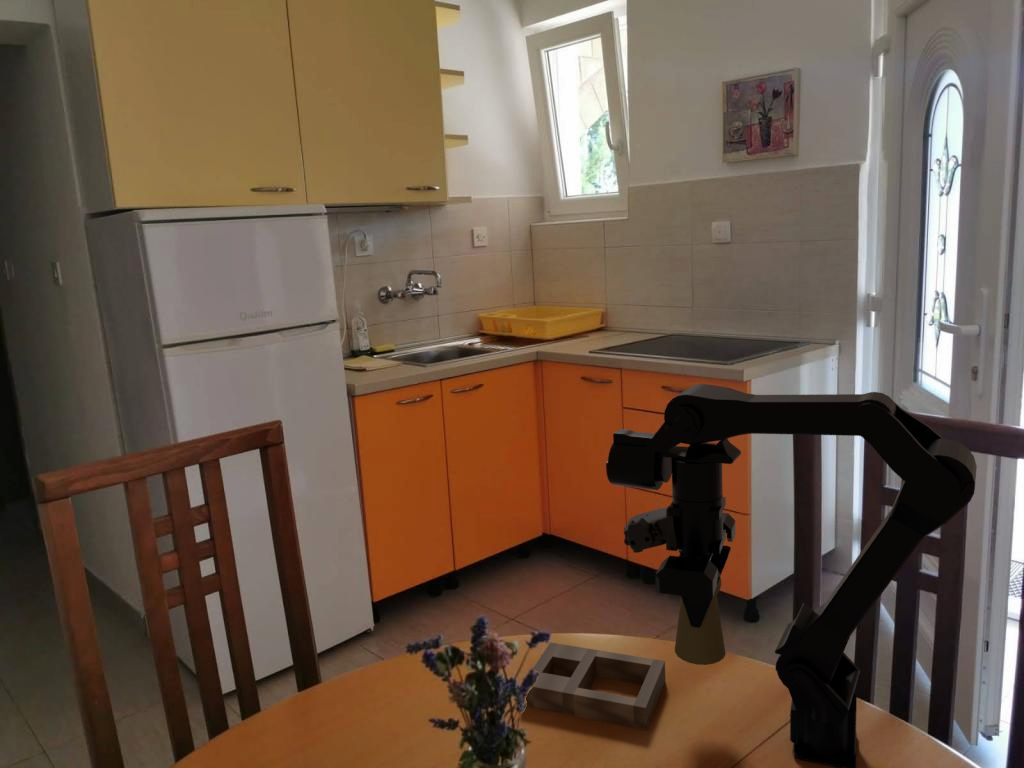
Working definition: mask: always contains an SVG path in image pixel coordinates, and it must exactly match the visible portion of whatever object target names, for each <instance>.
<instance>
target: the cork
mask: <svg viewBox="0 0 1024 768" xmlns="http://www.w3.org/2000/svg"><path fill="white" fill-rule="evenodd" d="M718 577H720V581H719V584H718V587H717V590H716V592H715V594H714V596H713V599H712V601H711V603H710V606H709V608H708V610H707V613H706V615H705V618H704V620H703V622H702V625H701V627H700V628H696V627H692V626H691V625H690V622H689V619H688V616H687V613H686V610H685V606H684V603H683V601H682V598H681V597H680V602H679V610H678V611H679V612H678V619H677V627H676V635H675V642H674V643H675V644H674V653H675V655H676V657H677V658H679V659H681V660H682V661H684V662H686V663H689V664H692V665H698V666H699V665H701V666H704V665H705V666H706V665H714V664H716V663H718V662H720V661H722V660H723V659H725V657H726V648H725V642H724V635H723V628H722V621H721V617H720V609H719V602H718V594H719V592H720V590H721V587H722V578H721V576H720V573H719V572H718Z"/></svg>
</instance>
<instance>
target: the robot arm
mask: <svg viewBox="0 0 1024 768" xmlns="http://www.w3.org/2000/svg"><path fill="white" fill-rule="evenodd" d="M663 412H664V415H663V416H664V417H663V420H664V422H663V423H662V424H661V426H660V427H659V428H658V430H657V431H656V432H654V433H652V432H640V431H633V430H631V429H623V428H620V429H618V430H617V431H615V432H614V433H613V434H612V439H613V442H612V445H610V448H609V452H608V458H607V461H606V463H605V470H606V471H605V472H606V477H607V480H608V482H609V483H610V484H611V485H613V486H621V487H629V488H634V489H635V488H637V489H644V490H651V491H652V490H653V491H658V490H660V489H661V487H663V484H664V483H666V484H667V483H669V482H670V480H671V490H672V492H671V493H672V494H671V495H672V497H671V498H672V501H671V502H670V505H668V506H667V507H661V508H656V509H653V510H649V511H647V512H646V511H645V512H642V513H638V514H636V515H633V516H632V517H631V518H630V519H629V520H628V521H627V523H626V524H625V526H624V527H623V530H624V531H623V534H624V540H623V543H624V545H626V546H629V547H630V549H631V550H632V552H633V553H634V554H635V553H637V554H638V553H641V552H643V551H644V550H648V549H651V548H655V547H660V546H663V545H665V547H666V548H665V549H666V551H671V552H672V551H673V552H677V551H678V553H679V555H678V556H677V555H669V556H667V557H666V558H665V559H664V560H662V561H661V563H660V565H659V567H658V569H657V571H656V573H655V577H654V578H655V591H657V593H659V594H665V595H672V596H674V595H675V596H680V599H681V598H682V601H683V603H684V606H685V610H686V613H687V616H688V619H689V622H690V625H691V626H692V627H696V628H700V627H701V625H702V622H703V620H704V618H705V615H706V613H707V610H708V608H709V606H710V603H711V601H712V599H713V596H714V594H715V592H716V590H717V587H718V584H719V581H720V577H721V575H722V573H723V571H724V568H725V566H726V563H727V561H728V559H729V556H730V553H731V549H732V548H731V546H729V545H724V544H725V541H726V540H727V542H729V543H733V542H734V540H735V537H736V520H735V519H734V518H733V517H732V515H730V514H729V513H728V512H724V510H725V508H726V504H727V503H726V502H727V501H726V500H727V499H726V496H724V494H723V492H724V491H723V490H724V489H723V464H725V465H732V464H733V463H735V461H736V460H737V459H738V458H739V457H740V456H741V455H742V452H741V450H740V449H739V448H738V447H737V446H736V445H734V444H733V443H731V442H730V440H729V438H730V439H731V438H734V437H737V436H743V435H754V434H756V435H758V434H759V435H801V436H802V435H803V436H804V435H805V436H808V435H809V436H815V435H816V436H847V437H849V436H850V437H851V436H854V437H862V439H864V440H865V441H866V442H868V444H869V445H870V446H871V447H872V448H873V449H874V451H876V452H877V454H878V455H879V456H880V457H881V459H882V460H883V461H884V462H885V463H886V465H887V466H888V467H889V468H890V469H891V470H892V471H893V472H894V473H895V474H896V475H897V476H898V477H899V478H900V479H901V480H903V481H902V482H901V485H900V487H899V490H898V493H897V494H896V497H895V499H894V502H893V505H892V506H891V509H890V511H889V512H888V513H887V515H886V516H885V517H884V519H883V520H882V522H881V524H879V525H878V527H877V529H876V530H875V531H874V533H873V535H872V536H871V537H870V539H869V540H868V542H867V543H866V544H865V546H864V547H863V548H862V550H861V551H860V553H859V554H858V556H857V557H856V559H855V560H854V561H853V563H852V564H851V565H850V567H849V568H848V570H847V571H846V573H844V575H843V577H842V578H841V579H840V581H839V582H838V584H837V585H836V586H835V588H834V589H833V591H832V593H831V594H830V595H829V597H828V598H827V599H826V601H825V602H824V603H823V604H822V605H820V606H818V607H817V608H815V609H814V610H813V609H812V608H811V607H810V606H809V605H807V603H805V602H803V603H802V604H801V607H800V610H799V612H798V613H797V614H796V618H795V619H794V620H793V621H791V622H789V623H787V625H786V626H785V629H784V632H783V633H782V636H781V637H780V639H779V642H778V644H777V647H776V648H775V650H774V653H775V654H776V655H778V658H777V660H776V662H775V671H776V674H777V676H778V678H779V680H780V681H781V682H782V685H784V686H785V688H787V689H788V692H789V694H790V696H791V704H790V714H789V715H790V717H789V720H790V722H789V726H790V727H789V729H790V730H789V732H790V733H789V740H790V742H791V743H793V755H792V756H793V757H794V758H795V759H799V760H803V761H808V762H812V763H813V762H814V763H819V764H823V765H829V766H834V767H837V768H839V767H840V768H857V711H858V710H857V709H858V708H857V695H856V694H855V690H856V686H857V683H858V680H859V675H860V673H861V670H860V669H861V668H859V667H858V665H856V664H855V663H854V662H853V661H852V659H850V658H849V656H848V655H847V654H846V653H844V651H845V650H846V647H847V646H848V645H847V644H848V643H849V640H850V638H851V636H852V634H853V633H854V632H855V630H856V629H857V628H858V626H859V625H860V623H861V622H862V621H864V618H865V617H866V616H867V614H868V613H869V612H870V610H871V609H872V607H873V606H874V605H875V603H876V602H877V601H878V599H880V597H881V596H882V594H883V592H884V591H885V590H886V589H887V588H888V586H889V585H890V583H891V582H892V581H893V580H894V578H895V577H896V576H897V574H898V573H899V571H900V570H901V569H902V567H903V566H904V564H905V563H906V562H907V561H908V559H909V558H910V556H911V555H912V554H913V553H914V551H915V550H916V548H917V547H918V546H919V544H920V543H921V542H922V540H924V539H926V537H928V536H929V535H931V534H933V533H934V532H936V531H937V530H939V529H940V528H943V526H945V525H946V524H947V523H948V522H949V521H951V520H952V519H953V518H954V517H955V516H956V515H957V514H959V512H961V511H962V509H964V508H965V507H966V506H967V505H968V504H969V503H970V502H972V501H971V500H972V498H973V496H975V495H974V494H975V489H976V480H977V479H976V478H977V467H978V466H977V462H976V459H975V456H974V454H973V453H972V452H971V450H970V449H969V448H968V447H967V446H965V445H964V444H962V443H961V442H959V441H956V440H953V439H948V438H944V437H943V436H941V435H940V434H939V433H938V432H937V431H935V430H934V429H933V428H932V427H931V426H930V425H928V424H927V423H925V422H924V421H923V420H921V419H919V418H917V417H916V416H914V415H913V414H912V413H909V412H908V411H907V410H905V409H903V408H902V407H901V406H899V404H897V402H895V401H894V400H893V399H892V398H891V397H890V396H889V395H888V394H885V393H883V392H880V391H879V392H878V391H871V392H866V393H862V394H861V393H857V394H856V393H855V394H854V393H852V394H850V393H848V394H847V393H846V394H842V393H841V394H840V393H838V394H837V393H836V394H835V393H833V394H827V393H826V394H754V393H748V392H747V393H746V392H743V391H740V390H738V389H735V388H732V387H731V388H730V387H726V386H720V385H713V384H708V383H699V384H694V385H691V386H690V387H688V388H687V389H685V390H684V391H682V392H681V393H679V394H677V395H676V396H674V397H672V398H671V400H670V401H669V402H668V403H667V404H666V407H665V410H664V411H663ZM715 442H717V443H715ZM680 444H684V445H688V446H678V445H680ZM718 572H719V573H720V577H718Z"/></svg>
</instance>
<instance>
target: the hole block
mask: <svg viewBox="0 0 1024 768" xmlns="http://www.w3.org/2000/svg"><path fill="white" fill-rule="evenodd" d="M531 670H536V671H538V672H539V673H540V676H539V678H538V680H537V682H536V683H535V685H534V686H533V688H532V689H531V690H530V691H529V693H528V695H527V697H526V701H527V706H526V707H529V708H533V709H534V708H535V709H539V710H544V711H549V712H553V713H559V714H565V715H568V716H574V717H578V718H584V719H588V720H594V721H598V722H599V721H600V722H605V723H609V724H615V725H620V726H624V727H628V728H634V729H638V730H639V729H640V730H644V731H647V729H648V727H649V725H650V722H651V719H652V716H653V715H654V711H655V710H656V706H657V705H658V702H659V699H660V696H661V694H662V691H663V688H664V686H665V683H666V661H665V660H661V659H654V658H648V657H642V656H637V655H631V654H630V655H629V654H624V653H619V652H618V653H617V652H611V651H606V650H600V649H599V650H598V649H593V648H587V647H581V646H575V645H569V644H564V643H563V644H562V643H556V642H551V641H550V642H549V644H548V645H547V646H546V648H545V650H544V651H543V653H542V654H540V657H539V658H538V660H537V662H536V663H535V664H534V665H533V666H532V668H531ZM596 677H600V678H605V679H611V680H617V681H622V682H627V683H628V682H629V683H633V684H638V683H639V685H641V687H640V690H639V692H638V694H637V696H636V697H631V696H625V695H620V694H615V693H609V692H603V691H598V690H594V689H591V686H592V685H593V683H594V681H595V679H596Z"/></svg>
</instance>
